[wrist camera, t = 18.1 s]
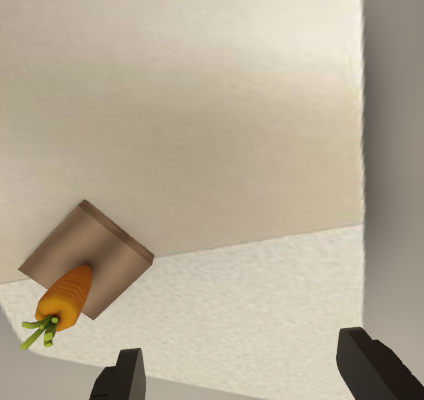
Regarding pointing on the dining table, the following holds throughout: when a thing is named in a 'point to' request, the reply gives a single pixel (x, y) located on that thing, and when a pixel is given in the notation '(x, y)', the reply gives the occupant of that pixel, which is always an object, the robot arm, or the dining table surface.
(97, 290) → the walnut plinth
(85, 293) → the carrot
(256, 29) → the dining table surface
